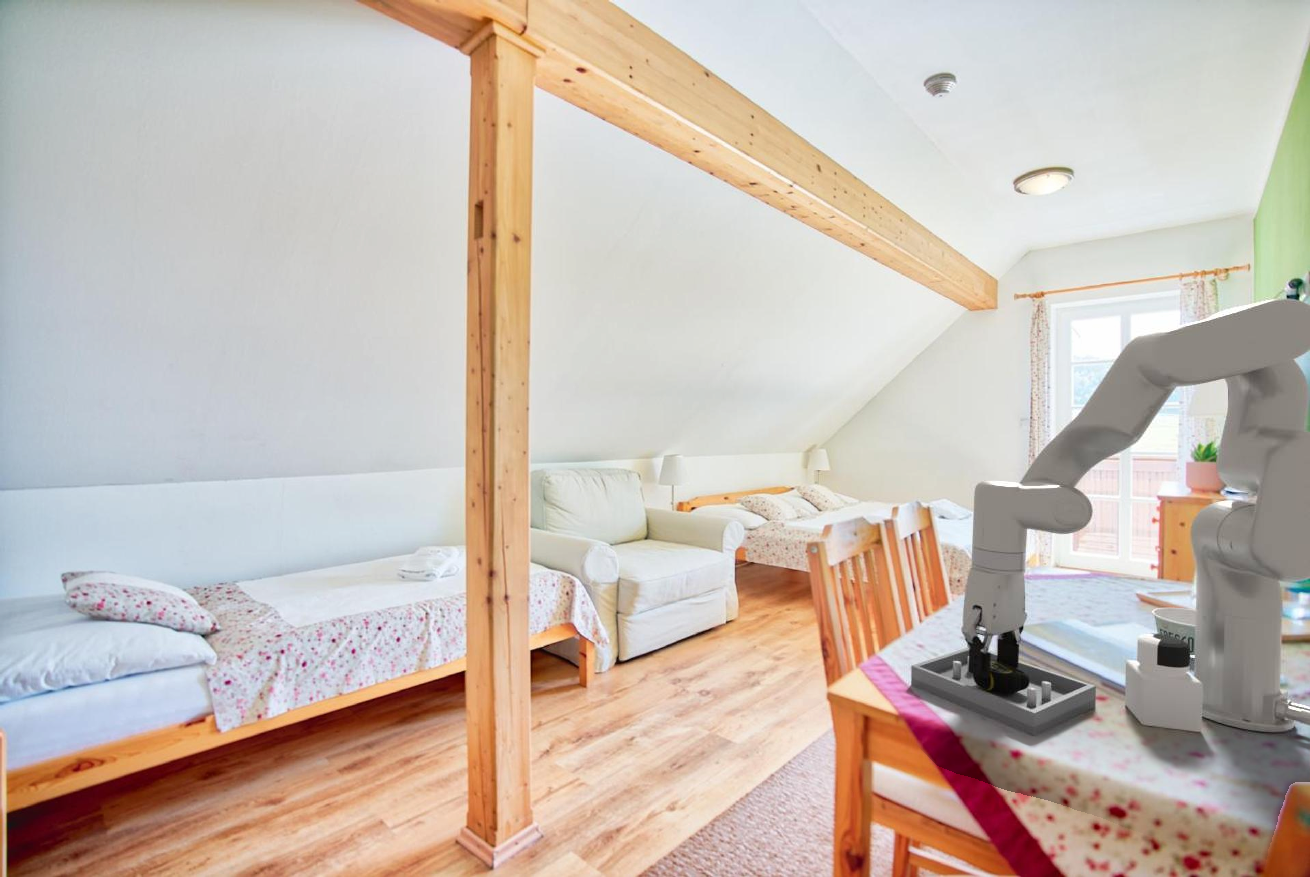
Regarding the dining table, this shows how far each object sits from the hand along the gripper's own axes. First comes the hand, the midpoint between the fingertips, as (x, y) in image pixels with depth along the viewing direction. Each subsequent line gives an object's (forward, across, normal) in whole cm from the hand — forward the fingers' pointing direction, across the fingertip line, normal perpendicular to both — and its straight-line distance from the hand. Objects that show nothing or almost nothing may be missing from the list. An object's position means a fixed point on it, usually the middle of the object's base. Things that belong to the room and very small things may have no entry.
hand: (993, 669), depth 103 cm
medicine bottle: (+4, -13, +18) cm, 22 cm away
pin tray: (+4, -1, +1) cm, 4 cm away
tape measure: (+3, -1, 0) cm, 3 cm away
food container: (+3, -50, +9) cm, 50 cm away
